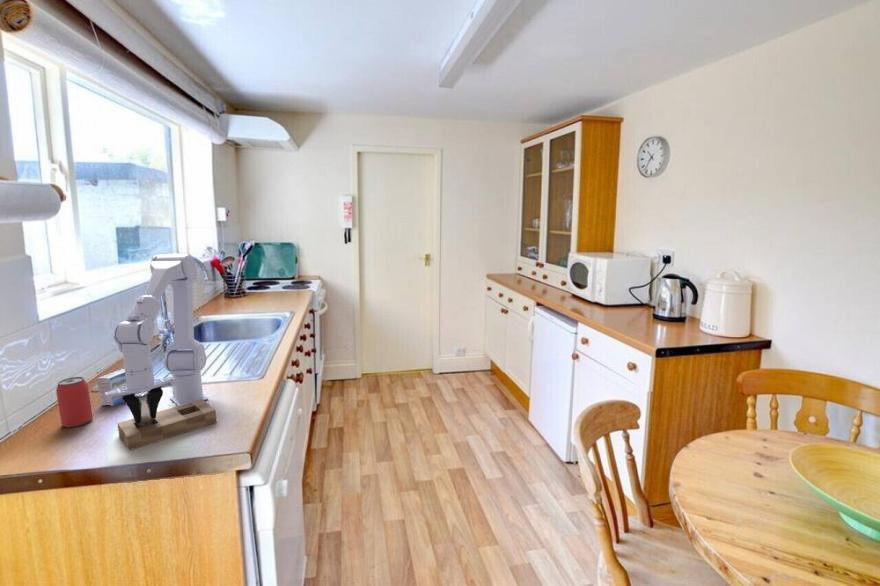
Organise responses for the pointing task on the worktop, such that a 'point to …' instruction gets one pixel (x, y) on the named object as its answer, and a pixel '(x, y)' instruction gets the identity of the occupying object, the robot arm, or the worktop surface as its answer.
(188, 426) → the hole block
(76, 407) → the beer can
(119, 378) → the medicine box
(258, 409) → the worktop surface
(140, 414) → the steel peg
